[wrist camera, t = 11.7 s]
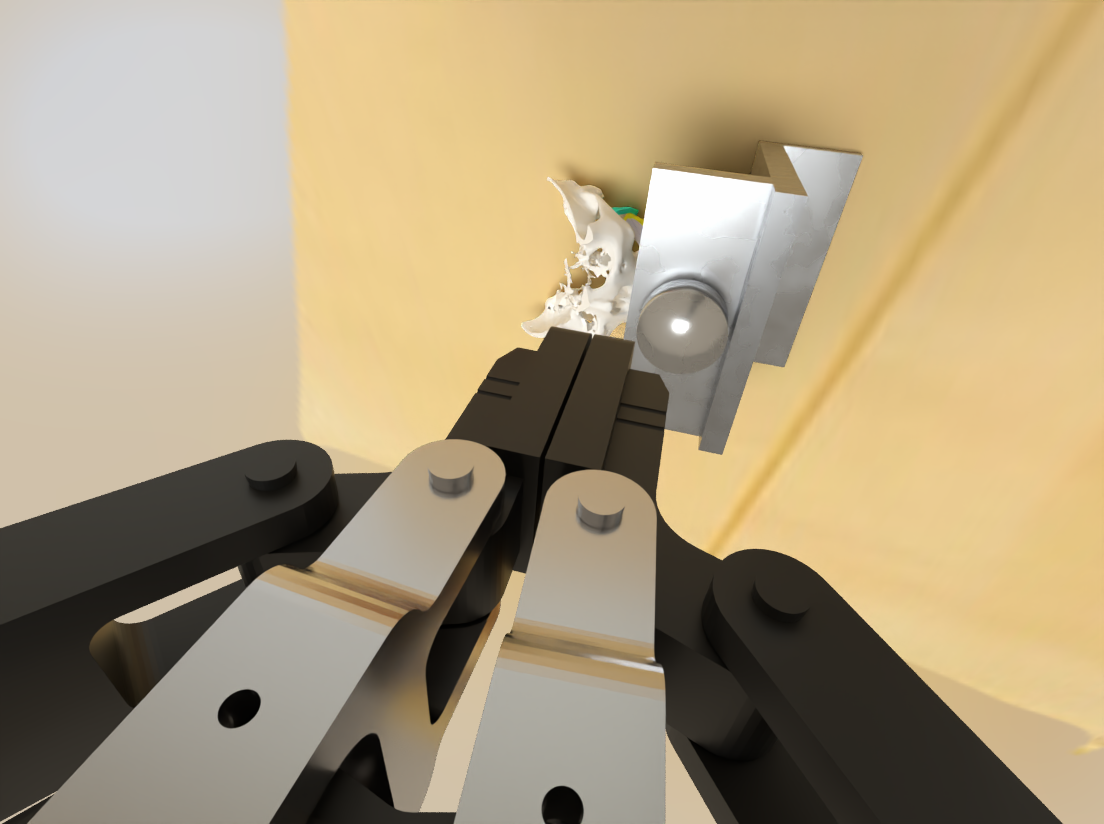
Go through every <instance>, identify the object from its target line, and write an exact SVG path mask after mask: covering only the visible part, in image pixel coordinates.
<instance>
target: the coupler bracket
mask: <svg viewBox="0 0 1104 824" xmlns="http://www.w3.org/2000/svg"><path fill="white" fill-rule="evenodd" d="M862 157H863V155H862V154H861V153H855V152H847V151H839V150H831V149H823V148H815V147H807V146H799V145H791V144H783V143H775V142H767V141H759V143H758V147H757V151H756V154H755V158H754V162H753V165H752V169H751V173H750V175H748V174H741V173H733V172H726V171H719V170H711V169H704V168H696V167H689V166H682V165H674V164H667V163H659V162H655V164H654V167H653V170H652V176H651V182H650V188H649V194H648V199H647V205H646V211H645V217H644V223H643V229H642V234H641V240H640V246H639V252H638V258H637V264H636V269H635V275H634V281H633V287H632V293H631V299H630V304H629V310H628V316H627V322H626V328H625V334H624V339H625V340H631V341H635V347H634V353H633V358H632V363H631V369H634V370H639V371H644V372H649V373H655V374H659V375H660V376H661V378H662V380H663V382H664V384H665V386H666V388H667V389H668V391H669V400H668V407H667V413H666V422H665V429H667V430H672V431H677V432H682V433H687V434H691V435H696V436H699V448H698V450H701V451H706V452H711V453H716V454H721V455H722V454H723V451H724V448H725V445H726V442H727V439H728V436H729V433H730V430H731V427H732V424H733V421H734V418H735V415H736V412H737V409H738V406H739V403H740V400H741V397H742V394H743V391H744V388H745V385H746V382H747V379H748V376H749V373H750V370H751V367H752V364H753V362H758V363H763V364H769V365H774V366H780V367H784V366H785V364H786V361H787V358H788V356H789V353H790V350H791V347H792V345H793V342H794V339H795V337H796V334H797V331H798V329H799V326H800V323H801V321H802V318H803V315H804V313H805V310H806V307H807V305H808V302H809V299H810V297H811V294H812V291H813V289H814V286H815V283H816V280H817V278H818V275H819V272H820V270H821V267H822V264H823V262H824V259H825V256H826V254H827V251H828V248H829V246H830V243H831V240H832V238H833V235H834V232H835V230H836V227H837V224H838V222H839V219H840V216H841V213H842V211H843V208H844V205H845V203H846V200H847V197H848V195H849V192H850V189H851V187H852V184H853V181H854V179H855V176H856V173H857V171H858V168H859V165H860V163H861V160H862Z"/></svg>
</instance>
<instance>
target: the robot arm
mask: <svg viewBox="0 0 1104 824" xmlns="http://www.w3.org/2000/svg"><path fill="white" fill-rule="evenodd" d="M634 347H635V341H631V340H625V339H620V338H614V337H609V336H603V335H598V334H594V336H593V338H592V333H586V332H581V331H575V330H570V329H564V328H559V327H554V326H551V327H550V329H549V331H548V332H547V334H546V336H545V338H544V340H543V342H542V343H541V345H540V347H539V349H538V351H533V350H528V349H523V348H516V349H514V350H513V351H511V352H509V353H508V354H506V355H504V356H502V357H501V358H499V359H497V361H496V362H495V364H494V365H493V367H492V368H491V370H490V372H489V373H488V375H487V377H486V379H484V381H483V382H482V384H481V385H480V387H479V388H478V392H477V393H475V395H474V396H473V398H472V399H471V401H470V402H469V404H468V405H467V407H466V408H465V410H464V412H463V413H462V415H461V416H460V418H459V419H458V421H457V422H456V424H455V425H454V427H453V428H452V430H451V432H450V433H449V435H448V436H447V438H446V439H445V440H440V441H435V442H431V443H428V444H425V445H423V446H421V447H419V448H417V449H415V450H413V451H412V452H411V453H409V454H408V455H407V456H406V457H405V458H404V459H403V460H402V461H401V462H400V464H399V465H398V466H397V467H396V468H395V469H394V471H393V472H387V473H358V474H357V473H353V474H334V470H333V465H332V461H331V459H330V456H329V455H328V454H327V453H326V451H325V450H323V449H322V448H320V447H319V446H317V445H315V444H312V443H309V442H305V441H299V440H277V441H271V442H266V443H262V444H258V445H255V446H252V447H249V448H246V449H243V450H240V451H237V452H233V453H231V454H227V455H225V456H221V457H218V458H215V459H212V460H209V461H206V462H203V463H200V464H197V465H194V466H191V467H188V468H184V469H181V470H178V471H175V472H172V473H169V474H166V475H163V476H160V477H157V478H154V479H151V480H148V481H145V482H141V483H139V484H135V485H132V486H129V487H126V488H123V489H120V490H117V491H114V492H111V493H108V494H105V495H102V496H99V497H95V498H93V499H89V500H86V501H83V502H81V503H77V504H74V505H71V506H68V507H65V508H62V509H59V510H56V511H53V512H49V513H46V514H43V515H40V516H37V517H34V518H31V519H28V520H25V521H22V522H19V523H16V524H13V525H10V526H6V527H4V528H0V821H2V820H4V819H6V818H8V817H10V816H11V815H13V814H15V813H17V812H19V811H21V810H23V809H24V808H26V807H28V806H30V805H32V804H34V803H35V802H37V801H39V800H41V799H43V798H45V797H47V796H49V795H50V794H52V793H54V792H56V791H57V792H56V793H55V794H53V795H52V796H50V797H48V798H47V799H45V800H43V801H41V802H39V803H38V804H36V805H34V806H32V807H31V808H29V809H27V810H25V811H24V812H22V813H20V814H18V815H16V816H15V817H13V818H11V819H9V820H8V821H6V822H4V823H2V824H665V729H666V732H667V735H668V737H669V740H670V742H671V744H672V745H673V748H674V749H675V751H676V753H677V754H678V756H679V758H680V760H681V761H682V763H683V765H684V766H685V769H686V770H687V772H688V774H689V776H690V777H691V779H692V781H693V783H694V784H695V786H696V788H697V790H698V791H699V793H700V795H701V797H702V798H703V800H704V802H705V804H706V805H707V807H708V809H709V810H710V812H711V814H712V816H713V818H714V819H715V821H716V823H717V824H1062V822H1061V821H1060V820H1059V819H1057V817H1056V816H1055V815H1054V814H1053V813H1052V812H1051V811H1050V810H1049V809H1048V808H1047V807H1046V806H1045V805H1044V804H1043V803H1042V802H1041V801H1040V800H1039V799H1038V798H1037V797H1036V796H1035V795H1034V794H1033V793H1032V792H1031V791H1030V790H1029V789H1028V788H1027V787H1026V786H1025V785H1024V784H1023V783H1022V782H1021V781H1020V779H1018V778H1017V776H1016V775H1015V774H1014V773H1013V772H1012V771H1011V770H1010V769H1009V768H1008V767H1007V766H1006V765H1005V764H1004V763H1003V762H1002V761H1001V760H1000V759H999V758H998V757H997V756H996V755H995V754H994V753H993V752H992V751H991V750H990V749H989V748H988V747H987V746H986V745H985V744H984V743H983V742H982V741H981V740H980V738H979V737H977V735H976V734H975V733H974V732H973V731H972V730H971V729H970V728H969V727H968V726H967V725H966V724H965V723H964V722H963V721H962V720H961V719H960V718H959V717H958V716H957V715H956V714H955V713H954V712H953V711H952V710H951V709H950V708H949V707H948V706H947V705H946V704H945V703H944V702H943V701H942V700H941V699H940V698H939V697H938V695H937V694H935V693H934V691H933V690H932V689H931V688H930V687H929V686H928V685H926V683H925V682H924V681H923V680H922V679H921V678H920V677H919V676H918V675H917V674H916V673H915V672H914V671H913V670H912V669H911V668H910V667H909V666H908V665H907V664H906V663H905V662H904V661H903V660H902V659H901V658H900V657H899V656H898V654H897V653H896V652H895V651H894V650H893V649H892V648H891V647H890V646H889V645H888V644H887V643H886V642H885V641H884V640H883V639H882V638H881V637H880V636H879V635H878V634H877V633H876V632H875V631H874V630H873V629H872V628H871V627H870V626H869V625H868V624H867V623H866V622H865V621H864V620H863V619H862V618H861V617H860V616H859V615H858V614H857V612H856V611H855V610H854V609H853V608H852V607H851V606H850V605H849V604H848V603H847V602H846V601H845V600H844V599H843V598H842V597H841V596H840V595H839V594H838V593H837V592H836V591H835V590H834V589H833V588H832V587H831V586H830V585H829V584H828V583H827V582H826V581H825V580H824V579H823V578H822V577H821V576H820V575H819V574H818V573H817V572H815V571H814V570H812V569H811V568H810V567H808V566H807V565H805V564H803V563H802V562H800V561H798V560H796V559H794V558H792V557H790V556H787V555H785V554H782V553H779V552H775V551H770V550H765V549H747V550H742V551H738V552H735V553H733V554H731V555H729V556H727V557H726V558H725V559H723V560H720V559H718V558H716V557H714V556H712V555H710V554H708V553H706V552H704V551H702V550H700V549H698V548H697V547H695V546H693V545H691V544H690V543H688V542H686V541H685V540H684V539H682V538H681V537H680V536H678V535H677V534H676V533H675V532H674V531H673V530H672V529H671V528H670V527H669V526H668V524H667V523H666V522H665V521H664V519H663V517H662V516H661V514H660V512H659V509H658V507H657V502H656V489H657V482H658V474H659V467H660V459H661V452H662V444H663V437H664V429H665V422H666V413H667V407H668V400H669V391H668V389H667V388H666V386H665V384H664V382H663V380H662V378H661V376H660V375H659V374H655V373H649V372H644V371H639V370H634V369H631V363H632V358H633V353H634ZM237 566H238V569H239V571H240V574H241V576H242V579H241V580H238V581H236V582H234V583H232V584H230V585H227V586H225V587H222V588H220V589H218V590H216V591H213V592H211V593H209V594H207V595H204V596H202V597H200V598H197V599H195V600H193V601H191V602H188V603H186V604H184V605H182V606H179V607H177V608H175V609H173V610H170V611H168V612H166V613H163V614H161V615H159V616H157V617H154V618H152V619H149V620H147V621H143V622H140V623H132V624H124V623H119V622H116V621H114V619H116V618H118V617H120V616H122V615H125V614H127V613H129V612H132V611H134V610H136V609H139V608H141V607H143V606H146V605H148V604H150V603H153V602H155V601H157V600H160V599H162V598H164V597H167V596H169V595H172V594H174V593H176V592H178V591H181V590H183V589H186V588H188V587H190V586H192V585H195V584H197V583H200V582H202V581H204V580H207V579H209V578H211V577H214V576H216V575H218V574H221V573H223V572H225V571H227V570H230V569H232V568H235V567H237ZM512 570H514V571H518V572H522V573H526V576H525V580H524V584H523V588H522V592H521V596H520V600H519V604H518V608H517V612H516V616H515V619H514V623H513V627H512V630H511V632H510V633H507V634H506V635H505V637H504V639H503V642H502V644H501V647H500V651H499V654H498V657H497V661H496V665H495V668H494V672H493V676H492V680H491V683H490V687H489V691H488V695H487V699H486V702H485V706H484V710H483V714H482V718H481V722H480V726H479V729H478V733H477V737H476V741H475V745H474V748H473V752H472V756H471V760H470V763H469V767H468V771H467V775H466V779H465V783H464V787H463V791H462V794H461V798H460V802H459V806H458V809H457V813H456V812H455V813H454V812H450V813H447V812H439V813H438V812H437V813H436V812H419V811H420V808H421V806H422V803H423V801H424V798H425V796H426V793H427V790H428V787H429V784H430V781H431V777H432V774H433V770H434V766H435V761H436V756H437V752H438V749H439V746H440V743H441V740H442V737H443V734H444V732H445V730H446V728H447V725H448V723H449V721H450V719H451V717H452V715H453V713H454V710H455V708H456V706H457V704H458V702H459V700H460V697H461V695H462V693H463V691H464V689H465V687H466V685H467V682H468V680H469V678H470V676H471V674H472V672H473V669H474V667H475V665H476V663H477V661H478V659H479V657H480V654H481V652H482V650H483V648H484V646H485V644H486V642H487V640H488V637H489V635H490V633H491V631H492V629H493V627H494V624H495V622H496V620H497V618H498V615H499V612H500V606H501V598H502V596H503V594H504V592H505V589H506V586H507V584H508V581H509V578H510V576H511V573H512Z"/></svg>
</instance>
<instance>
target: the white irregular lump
mask: <svg viewBox="0 0 1104 824" xmlns="http://www.w3.org/2000/svg"><path fill="white" fill-rule="evenodd" d="M547 180H548V181H550V182H552V183H553V185H554V186H555V187H556V188H557V189H558V190H559V191H560V193H561V195H562V197H563V199H564V204H563V207H564V212H565V215H567V217H568V219H569V221H570V222H571V224H572V226H573V228H574V231H575V233H576V241H577V243H578V242H579V243H580V248H579V252H578V253H580V254H578V253H577V254H576V253H575V254H576V255H575V257H578V259H579V262H576V263H575V265H573V266H571V267H569V266H568V265H567V259H566V258H565V262H564V264H565V268H566V270H565V269H564V270H565V271H566V273H567V274H564V275H566V276H567V283H568V285H567V287H566V285H564V284H563V283H560V286H561V290H562V286H564V289H565V292H560V290H557V293H556V295H554V296H553V297H550V298H548V299H547V301H546V303H545V310H544V312H543V313H542V314H541V315H540V316H539V317H537V318H535V319H533V320H529V321H525V322H523V323H522V324H521V327H522V328H523V329H524V330H525V331H526V332H527V333H528V334H529V335H531V336H533V337H537V338H543V337H545V336H546V334H547V332H548V331H549V329H550V327H551V326H554V327H559V328H564V329H570V330H575V331H581V332H586V333H592V338H593V336H594V334H598V335H603V336H610V334H611V333H612V331H613V330H614V329H615V328H616V327H617V326H618V325H620V324H621V323H623V322H627V316H628V310H629V304H630V299H631V293H632V287H633V281H634V275H635V269H636V264H637V258H638V252H639V251H637V252H633V251H632V246H633V243H634V241H635V240H636V242H637V243H638V245H639V246H640V240H641V234H642V229H643V223H644V219H642V218H640V217H638V216H637V214H638V212H639V210H637V209H634V208H631V207H621V208H618V207H614V208H611V207H610V206H609V205H608V204H607V203H606V202H605V201H604V200H603V198H604V195H603V194H602V191H601V189H599V188H597V187H595V186H592V185H586V186H579V185H578V184H577V183H576V182H575V181H573V180H563V181H561V180H555V179H552V178H550V177H547ZM596 219H598V220H597V221H595V220H596ZM598 248H602V249H603V250H602V252H598V251H597V250H598ZM571 253H574V252H572V251H571ZM580 265H582V266H583V268H581V269H585V271H586V272H587V274H588V277H587V278H588V283H586V284H585V285H586V286H585V287H584V286H583V285H582V286H581V288H570V283H572V280H571V274H570V268H572V269H574V268H578V267H579V266H580ZM596 265H598V266H596ZM588 269H589V270H592V271H593V272H594V273H595V275H596V277H599V276H600V275H603V277H606V281H605V283H604V285H602V286H601V287H599V288H595V289H592V288H591V287H590V286H588V285H591V283H592V281H591V279H590V278H596V277H595V276H593V275H591V273H590V272H589V270H588ZM607 270H609V271H610V272H609V274H607V272H606V271H607ZM581 289H583V292H581V293H580V294H578V291H579V290H581ZM559 292H560V293H559ZM587 320H590V321H592V323H588V321H587Z"/></svg>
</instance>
